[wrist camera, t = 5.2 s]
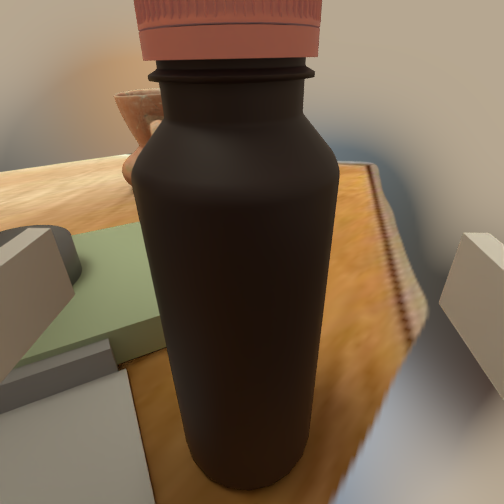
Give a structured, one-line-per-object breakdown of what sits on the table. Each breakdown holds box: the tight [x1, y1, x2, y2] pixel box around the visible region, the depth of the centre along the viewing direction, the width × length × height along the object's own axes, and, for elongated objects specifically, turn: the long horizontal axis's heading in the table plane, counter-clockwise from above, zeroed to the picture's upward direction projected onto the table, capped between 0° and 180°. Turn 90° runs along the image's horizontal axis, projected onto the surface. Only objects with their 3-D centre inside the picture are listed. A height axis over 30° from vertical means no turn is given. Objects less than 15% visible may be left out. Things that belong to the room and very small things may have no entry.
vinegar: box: [131, 0, 339, 490], centre depth 13 cm, size 7×7×20 cm
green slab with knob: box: [0, 222, 166, 504], centre depth 21 cm, size 20×28×6 cm
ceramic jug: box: [114, 88, 164, 185], centre depth 50 cm, size 18×14×14 cm
